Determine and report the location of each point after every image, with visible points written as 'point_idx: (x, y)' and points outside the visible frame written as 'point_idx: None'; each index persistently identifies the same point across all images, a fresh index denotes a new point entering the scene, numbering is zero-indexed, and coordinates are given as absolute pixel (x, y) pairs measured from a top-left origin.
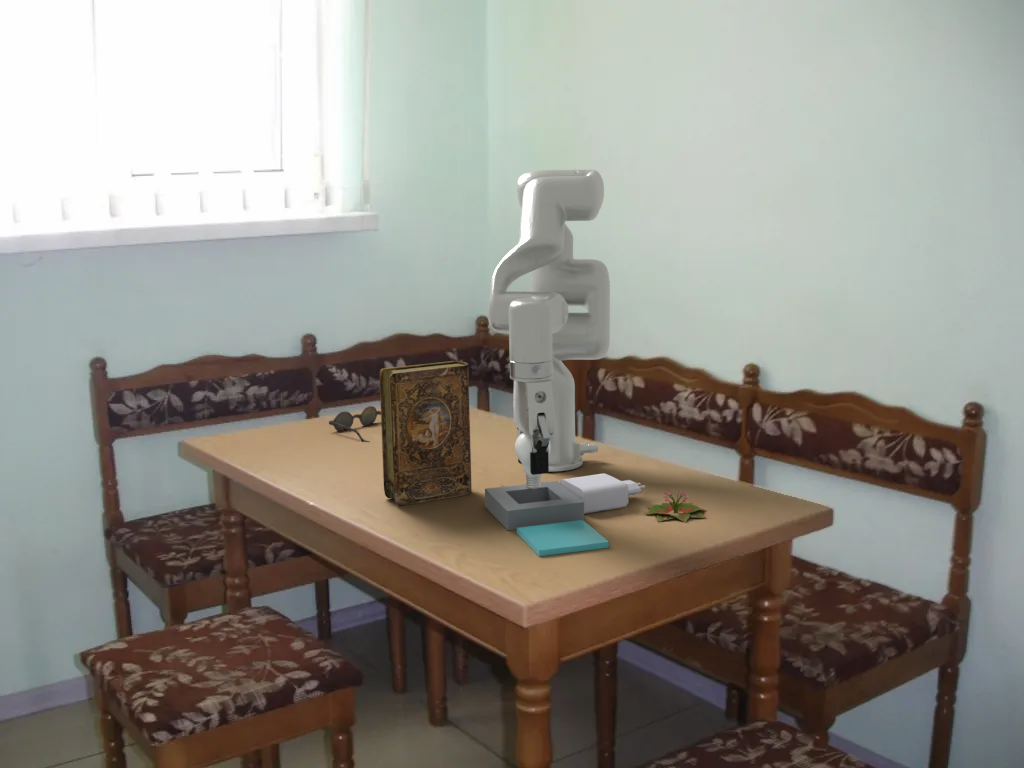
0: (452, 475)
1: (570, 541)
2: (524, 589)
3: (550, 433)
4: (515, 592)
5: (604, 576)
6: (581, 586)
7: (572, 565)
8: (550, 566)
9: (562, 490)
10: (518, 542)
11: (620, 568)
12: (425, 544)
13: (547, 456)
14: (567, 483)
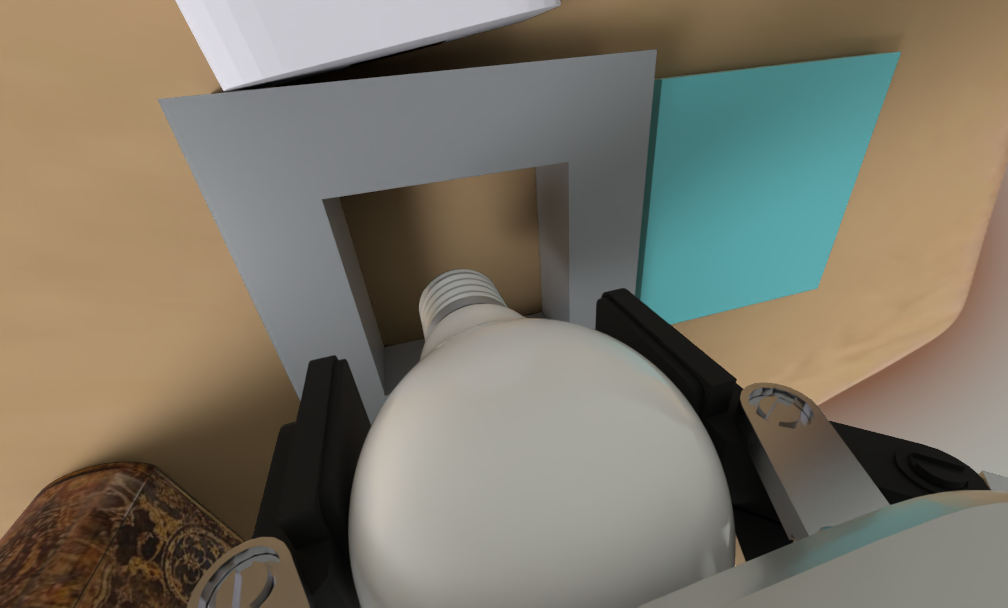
0: (164, 595)
1: (818, 190)
2: (911, 324)
3: (865, 518)
4: (909, 339)
5: (996, 142)
6: (986, 213)
7: (895, 208)
8: (864, 262)
9: (414, 120)
10: (691, 321)
11: (1000, 77)
12: None
13: (697, 355)
14: (336, 61)
